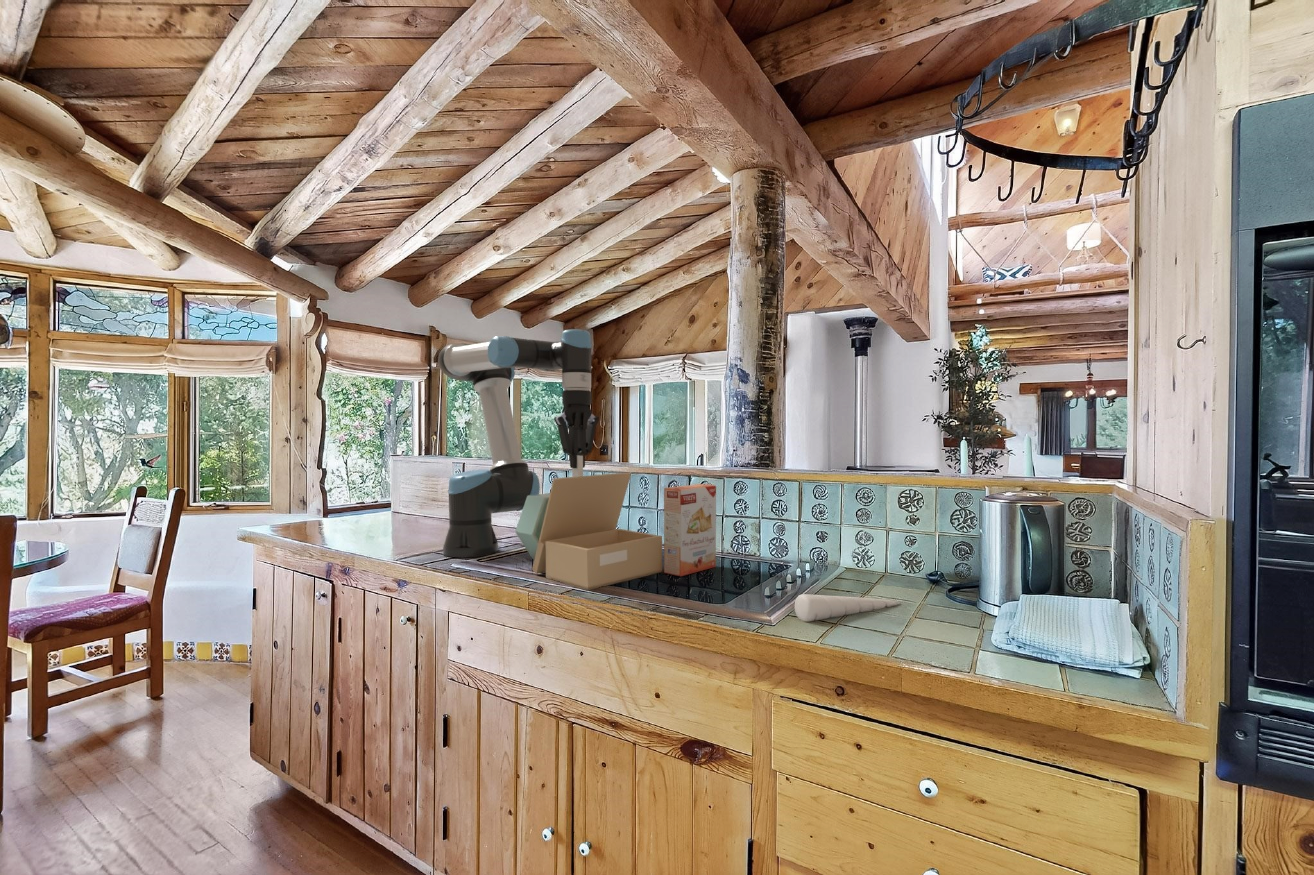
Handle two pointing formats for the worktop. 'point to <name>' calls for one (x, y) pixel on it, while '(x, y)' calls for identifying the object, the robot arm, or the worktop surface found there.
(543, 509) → the planter
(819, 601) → the unicorn horn
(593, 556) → the mailer
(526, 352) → the robot arm
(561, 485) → the lid
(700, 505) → the cracker box
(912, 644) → the worktop surface
